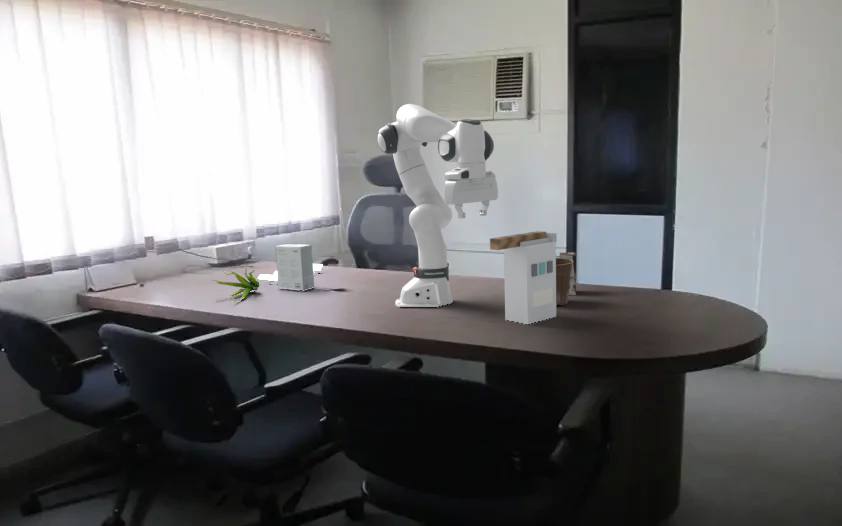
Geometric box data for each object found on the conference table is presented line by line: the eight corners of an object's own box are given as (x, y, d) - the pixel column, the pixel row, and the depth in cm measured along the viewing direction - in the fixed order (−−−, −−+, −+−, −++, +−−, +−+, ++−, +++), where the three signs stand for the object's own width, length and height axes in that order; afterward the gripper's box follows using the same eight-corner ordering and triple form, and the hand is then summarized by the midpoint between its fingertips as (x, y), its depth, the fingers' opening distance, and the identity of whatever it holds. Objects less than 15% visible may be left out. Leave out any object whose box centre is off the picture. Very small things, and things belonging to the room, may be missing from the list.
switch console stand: (528, 325, 221) (527, 238, 216) (505, 320, 229) (503, 236, 224) (558, 316, 231) (557, 233, 226) (534, 312, 239) (533, 231, 234)
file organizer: (254, 284, 318) (253, 274, 318) (304, 272, 347) (303, 263, 347) (274, 286, 311) (273, 275, 311) (323, 274, 341) (323, 264, 340)
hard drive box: (315, 288, 299) (312, 244, 296) (303, 292, 293) (300, 247, 289) (289, 286, 307) (286, 243, 304) (277, 289, 301) (274, 245, 298)
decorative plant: (198, 305, 275) (194, 270, 272) (251, 291, 299) (248, 259, 297) (228, 309, 265) (225, 272, 263) (281, 294, 290) (278, 260, 288)
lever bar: (498, 250, 213) (497, 239, 213) (490, 249, 216) (489, 238, 215) (546, 241, 228) (546, 231, 228) (538, 241, 231) (538, 231, 231)
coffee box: (576, 295, 264) (576, 255, 261) (559, 295, 265) (559, 255, 262) (575, 290, 272) (575, 251, 270) (559, 290, 274) (559, 251, 271)
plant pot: (570, 308, 241) (570, 265, 239) (526, 307, 247) (525, 264, 245) (576, 299, 256) (576, 258, 254) (534, 297, 262) (533, 257, 260)
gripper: (487, 170, 216) (488, 213, 218) (440, 174, 203) (442, 219, 205) (502, 170, 211) (502, 214, 214) (454, 174, 198) (456, 220, 201)
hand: (472, 216), depth 209 cm, fingers open, 8 cm apart
